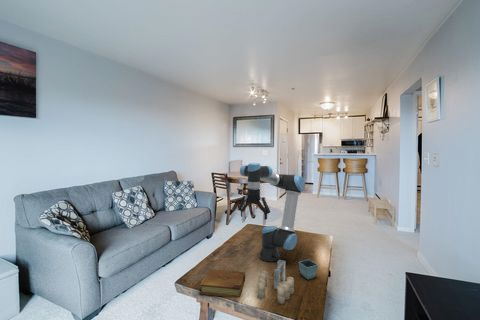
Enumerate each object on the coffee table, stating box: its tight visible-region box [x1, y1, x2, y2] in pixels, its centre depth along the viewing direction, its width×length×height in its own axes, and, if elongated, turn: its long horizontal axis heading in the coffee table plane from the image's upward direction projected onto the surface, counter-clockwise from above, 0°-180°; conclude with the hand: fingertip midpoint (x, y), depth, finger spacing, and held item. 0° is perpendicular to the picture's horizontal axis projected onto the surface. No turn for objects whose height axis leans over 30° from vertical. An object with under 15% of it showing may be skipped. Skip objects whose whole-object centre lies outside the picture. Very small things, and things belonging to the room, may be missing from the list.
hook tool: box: [273, 259, 286, 290], centre depth 142 cm, size 13×4×12 cm, turn 155°
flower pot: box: [298, 259, 319, 280], centre depth 150 cm, size 9×9×9 cm
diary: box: [199, 269, 246, 299], centre depth 139 cm, size 23×19×6 cm
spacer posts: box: [257, 270, 295, 305], centre depth 131 cm, size 14×20×8 cm
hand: (253, 223), depth 142 cm, fingers open, 13 cm apart
